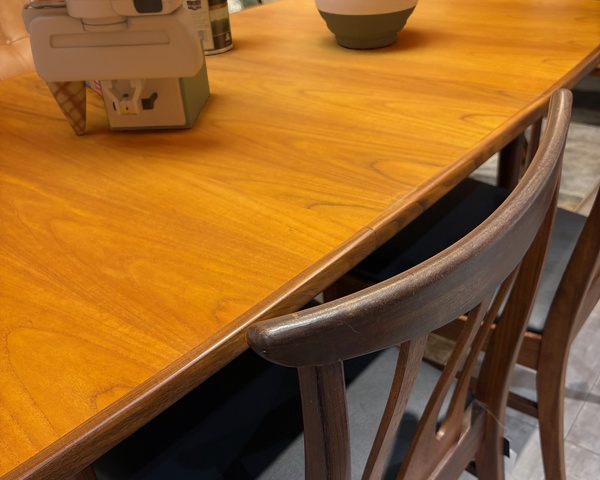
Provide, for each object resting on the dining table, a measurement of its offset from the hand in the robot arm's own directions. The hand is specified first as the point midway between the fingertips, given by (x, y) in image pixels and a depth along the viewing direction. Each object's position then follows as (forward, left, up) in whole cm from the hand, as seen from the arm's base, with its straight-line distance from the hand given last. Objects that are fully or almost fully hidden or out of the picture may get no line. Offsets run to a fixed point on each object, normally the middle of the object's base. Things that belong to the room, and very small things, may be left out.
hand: (130, 113), depth 78 cm
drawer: (0, +10, -4) cm, 10 cm away
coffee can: (0, +49, -5) cm, 49 cm away
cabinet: (0, +14, -5) cm, 14 cm away
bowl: (+31, +49, -5) cm, 58 cm away
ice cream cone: (-10, +6, -5) cm, 12 cm away
